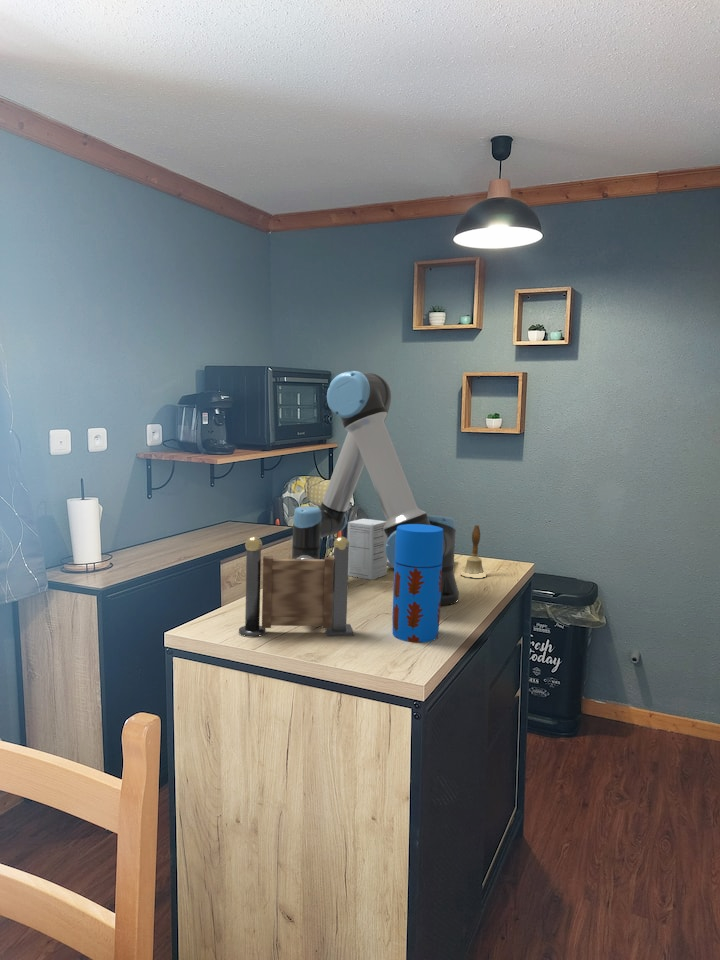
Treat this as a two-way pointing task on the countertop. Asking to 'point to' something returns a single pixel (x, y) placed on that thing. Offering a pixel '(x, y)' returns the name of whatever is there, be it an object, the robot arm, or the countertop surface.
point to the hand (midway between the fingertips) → (304, 598)
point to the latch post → (340, 590)
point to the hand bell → (474, 555)
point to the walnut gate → (297, 592)
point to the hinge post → (252, 588)
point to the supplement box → (367, 549)
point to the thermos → (417, 582)
